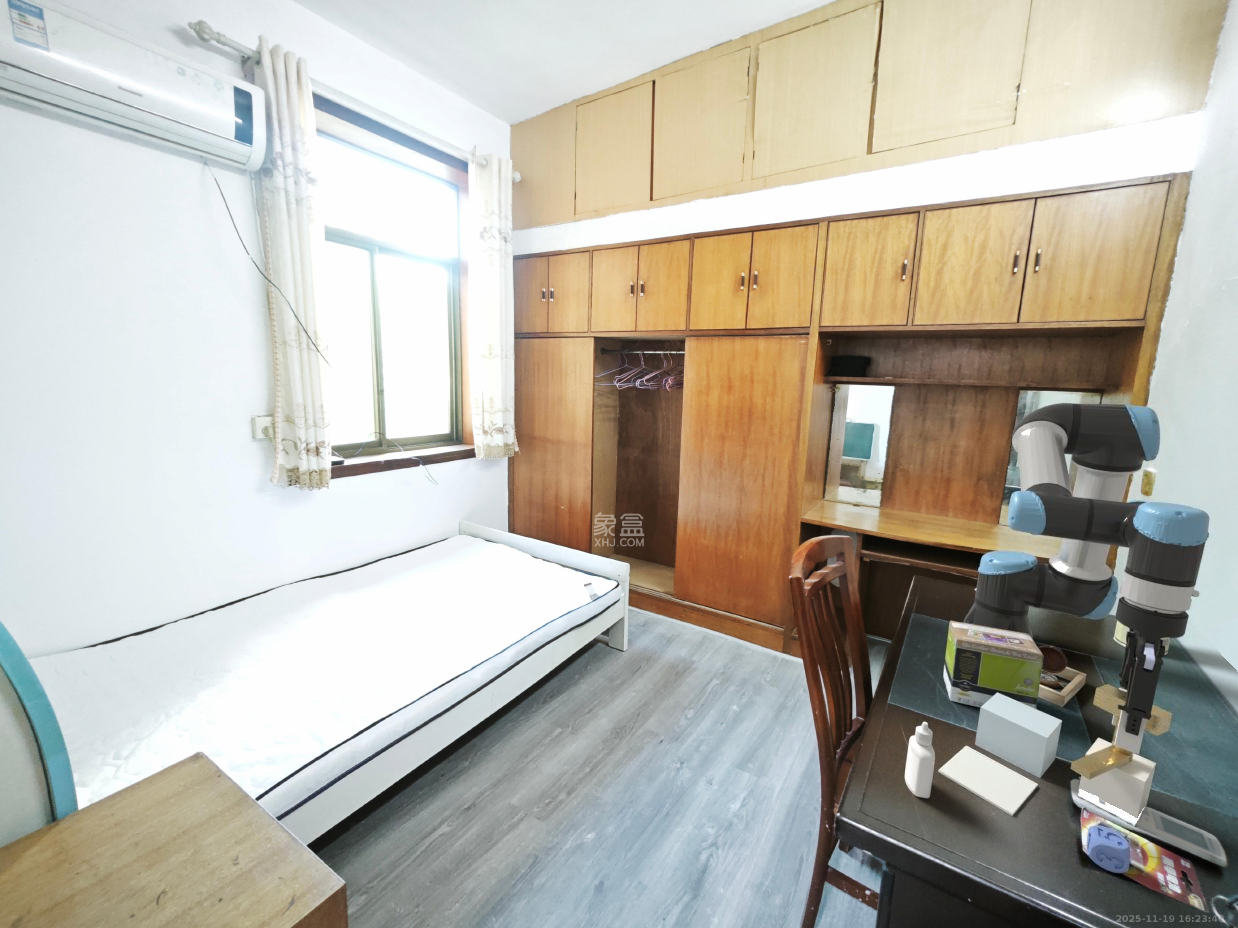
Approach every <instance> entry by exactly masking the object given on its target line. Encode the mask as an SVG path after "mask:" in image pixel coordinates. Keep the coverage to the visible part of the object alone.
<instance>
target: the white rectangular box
mask: <svg viewBox="0 0 1238 928" xmlns="http://www.w3.org/2000/svg"><path fill="white" fill-rule="evenodd" d="M1111 745H1112V742H1109V741H1107V740H1105V739H1103V738H1100V737H1098V738H1097V739H1096V740H1095V742H1094V743H1093V744H1092V745H1091V746H1090V748H1089V749H1088V750H1087V751H1086V753H1085V755H1084V757H1085V756H1087V755H1090V754H1092V753H1095V752H1097V751H1099V750H1102V749H1104V748H1107V747H1109V746H1111ZM1156 765H1157V763H1156V762H1155V761H1152V760H1150V759H1148V758H1145V757H1143V756H1141V755H1140V754H1137V753H1134V755H1133V759H1132V762H1128V763H1126V764H1124V765H1121V766H1119V767H1117V768H1115V769H1112V770H1110V771H1108V772H1106V773H1103V774H1101V775H1099V776H1097V777H1094V778H1092V779H1090V780H1088V779H1087V778H1085V777H1084V776H1082V775H1081V776H1080V780H1079V781H1080V782H1079V786H1078V790H1079V789H1082V790H1084V791H1086V792H1088V793H1091V794H1093V795H1096V796H1098V797H1100V798H1101V799H1102V800H1104V801H1105V802H1107V803H1109V804H1110V805H1113V806H1115V807H1117V808H1119V809H1122V810H1123V811H1125V812H1127V813H1129V814H1130V815H1132V816H1134V817H1135V818H1138V816H1139V814H1140V813H1141V811H1142V809H1143V808H1144V807H1146V808H1147V806H1148V800H1149V795H1150V792H1151V787H1152V782H1153V778H1154V775H1155V774H1154V773H1155V770H1156V769H1155V768H1156Z"/></svg>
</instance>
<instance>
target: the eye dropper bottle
mask: <svg viewBox="0 0 1238 928" xmlns="http://www.w3.org/2000/svg"><path fill="white" fill-rule="evenodd" d="M933 734H934V733H933V731H932V730H931V728H929V724H928V722H926V721H923V722H922V723H921V725H918V726H916V727H915V733H914V735H911V736H910V737H909V739H908V748H907V754H906V761H905V771H904V781H905V784H906V786H907V788H908V790H909V791H910V792H911V793H912V794H913V795H914V796H915V797H918V798H923V799H930V797H931V791H932V784H933V776H934V769H935V762H936V761H935V760H936V754H935V749H934V747H933V745H932V742H933Z"/></svg>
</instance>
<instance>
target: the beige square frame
mask: <svg viewBox="0 0 1238 928" xmlns="http://www.w3.org/2000/svg"><path fill="white" fill-rule="evenodd" d="M1042 670H1043V669H1042ZM1043 671H1044V670H1043ZM1051 674H1053V675H1054V676H1058V677H1060V678H1063V679H1065V680H1068V681H1070V682H1069V683H1068V685H1066V686H1064V687H1063V689H1062V690H1061V691H1060V692H1059V691H1057V690H1055V689H1053V688H1051V687H1045V686H1043V685H1040V686H1039V693H1038V698H1040V699H1042V700H1044V701H1047V702H1050V703H1051V704H1053V705H1056V706H1059V707H1061V708H1064V706H1065V705H1066V704H1067V703H1068V702H1069V701H1070V700H1071V699H1072V698H1073V697H1074V696H1075V695H1076V694H1077V693H1078V692H1079V691H1080V690H1081V689H1082V688H1083V686H1085V685H1086V684H1085V683H1086V680H1087V673H1084V672H1081V671H1079V670H1076V669H1073V668H1071V667H1068V666H1067V667H1066V668H1065V669H1064V670H1063V671H1062V672H1059V673H1051Z"/></svg>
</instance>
